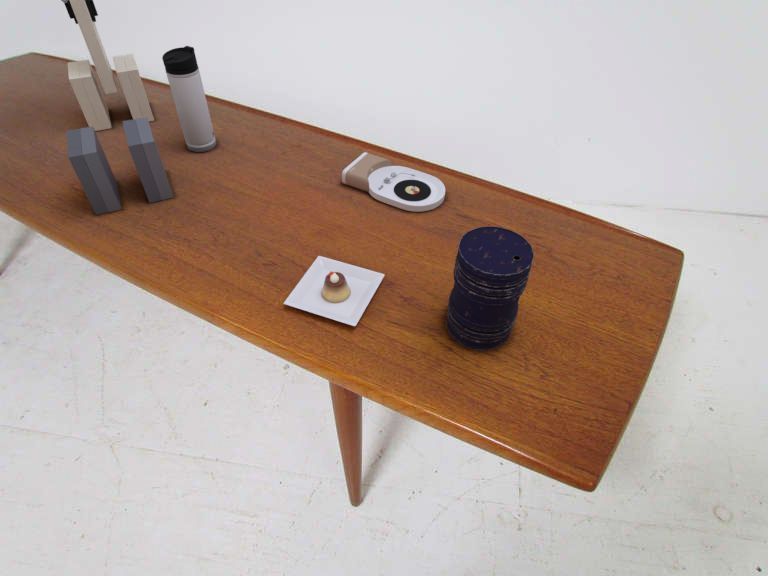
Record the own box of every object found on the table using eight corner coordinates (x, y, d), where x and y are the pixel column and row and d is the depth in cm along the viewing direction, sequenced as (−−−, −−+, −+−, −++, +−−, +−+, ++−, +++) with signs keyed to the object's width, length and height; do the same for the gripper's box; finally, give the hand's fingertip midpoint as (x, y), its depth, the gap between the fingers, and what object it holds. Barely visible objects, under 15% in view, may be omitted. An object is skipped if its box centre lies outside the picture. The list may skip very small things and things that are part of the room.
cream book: (105, 94, 110) (68, -2, 97) (102, 77, 116) (67, -16, 103) (117, 92, 111) (82, -4, 97) (113, 75, 117) (80, -17, 104)
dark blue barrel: (433, 331, 74) (444, 255, 63) (463, 292, 80) (478, 217, 69) (494, 362, 70) (517, 286, 59) (521, 319, 76) (546, 243, 65)
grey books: (96, 215, 92) (68, 157, 83) (92, 187, 98) (66, 130, 90) (173, 197, 96) (154, 141, 88) (165, 172, 103) (147, 116, 94)
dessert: (319, 260, 84) (317, 238, 81) (385, 279, 81) (385, 257, 78) (283, 308, 76) (279, 286, 73) (355, 331, 73) (354, 309, 70)
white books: (91, 131, 114) (68, 79, 105) (88, 113, 120) (67, 62, 111) (154, 120, 118) (137, 69, 110) (148, 103, 124) (132, 53, 116)
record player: (368, 148, 105) (455, 176, 98) (368, 161, 107) (453, 189, 100) (338, 174, 98) (430, 206, 91) (338, 187, 100) (428, 219, 93)
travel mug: (223, 142, 111) (202, 49, 97) (202, 155, 107) (176, 60, 93) (203, 135, 114) (179, 42, 99) (181, 147, 110) (153, 53, 95)
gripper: (91, -94, 96) (125, 11, 109) (-5, -90, 91) (42, 20, 104) (94, -88, 91) (128, 21, 104) (-8, -83, 86) (42, 31, 99)
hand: (85, 20), depth 104 cm, fingers closed on cream book, 2 cm apart
